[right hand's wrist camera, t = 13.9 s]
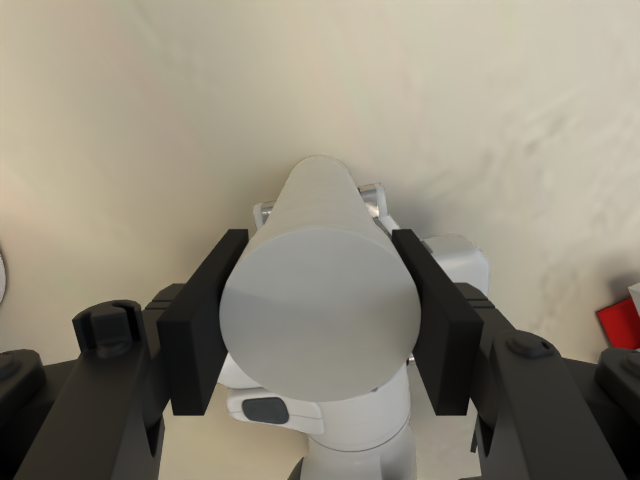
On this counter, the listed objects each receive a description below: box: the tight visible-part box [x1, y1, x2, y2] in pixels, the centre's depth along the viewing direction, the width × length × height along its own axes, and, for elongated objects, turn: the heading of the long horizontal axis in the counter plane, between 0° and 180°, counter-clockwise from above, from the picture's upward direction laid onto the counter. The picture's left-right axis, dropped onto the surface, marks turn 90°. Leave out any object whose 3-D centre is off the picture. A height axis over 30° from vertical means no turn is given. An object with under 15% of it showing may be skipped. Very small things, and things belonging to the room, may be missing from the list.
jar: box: [265, 155, 375, 224], centre depth 19 cm, size 5×5×19 cm
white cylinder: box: [219, 205, 421, 402], centre depth 11 cm, size 6×6×2 cm
